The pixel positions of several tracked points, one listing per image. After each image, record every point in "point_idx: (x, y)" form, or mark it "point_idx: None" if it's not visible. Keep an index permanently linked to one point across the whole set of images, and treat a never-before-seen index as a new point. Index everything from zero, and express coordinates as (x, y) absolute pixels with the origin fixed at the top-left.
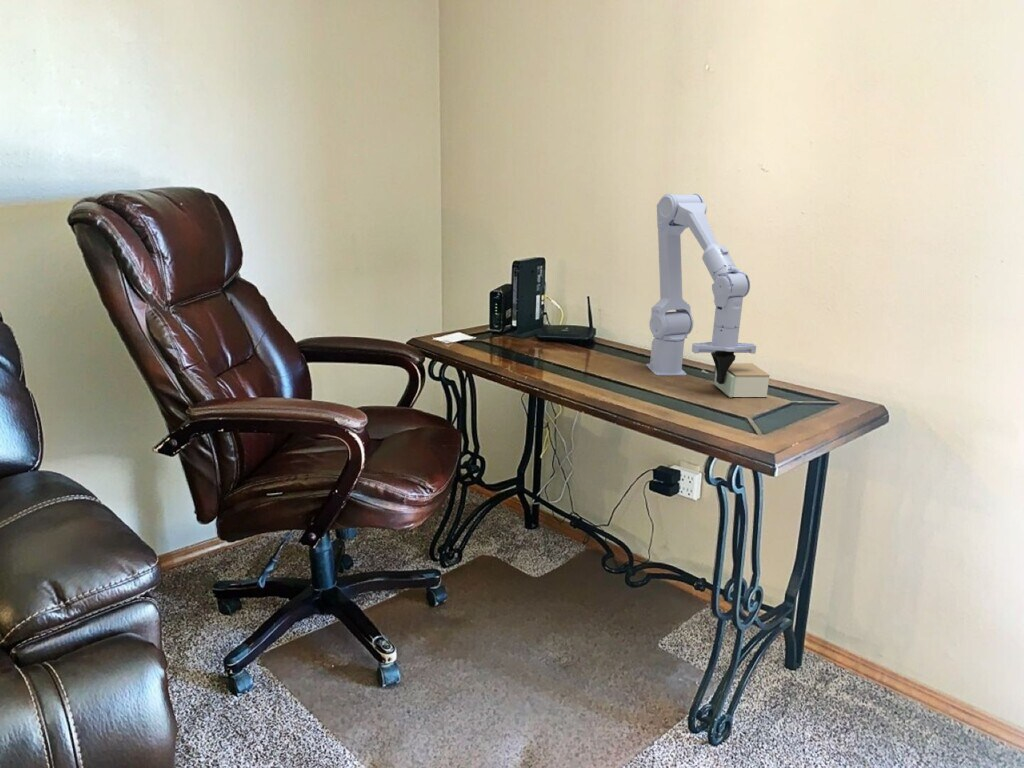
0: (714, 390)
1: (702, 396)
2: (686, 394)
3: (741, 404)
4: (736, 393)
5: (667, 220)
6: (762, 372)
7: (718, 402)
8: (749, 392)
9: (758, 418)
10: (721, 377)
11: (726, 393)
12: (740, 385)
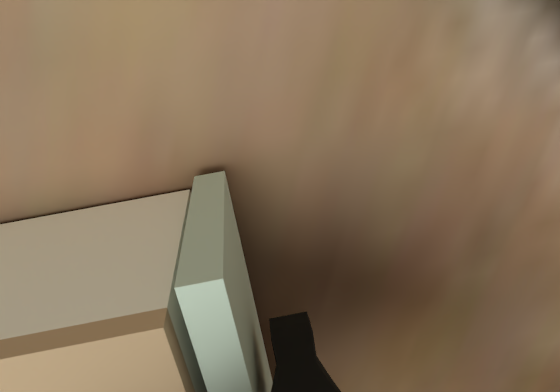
0: None
1: (419, 204)
2: (521, 227)
3: (130, 46)
4: (159, 212)
5: None
6: None
7: (333, 72)
8: (32, 241)
9: None
10: (311, 350)
11: (239, 238)
12: (112, 259)
